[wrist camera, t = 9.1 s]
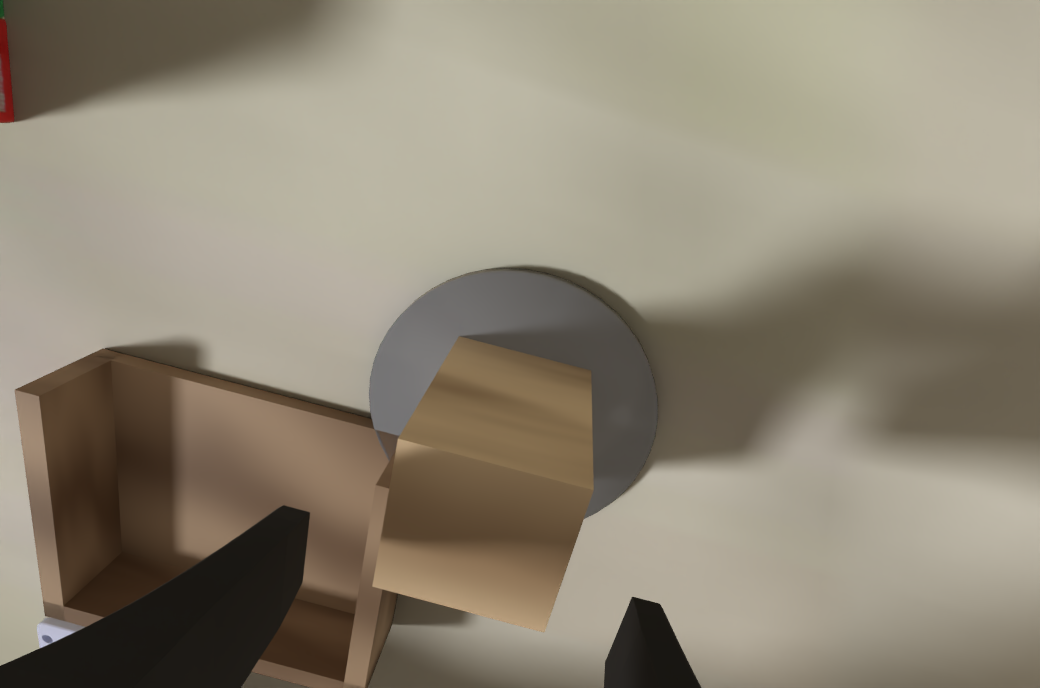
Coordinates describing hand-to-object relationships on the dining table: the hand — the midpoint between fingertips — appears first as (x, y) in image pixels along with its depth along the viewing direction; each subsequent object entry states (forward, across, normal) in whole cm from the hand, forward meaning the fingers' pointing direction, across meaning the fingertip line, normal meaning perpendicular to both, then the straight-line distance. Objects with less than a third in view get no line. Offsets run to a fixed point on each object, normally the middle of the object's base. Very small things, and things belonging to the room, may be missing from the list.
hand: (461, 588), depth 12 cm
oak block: (+8, 0, 0) cm, 8 cm away
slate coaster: (+8, 0, 0) cm, 8 cm away
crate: (+8, +9, +7) cm, 14 cm away
